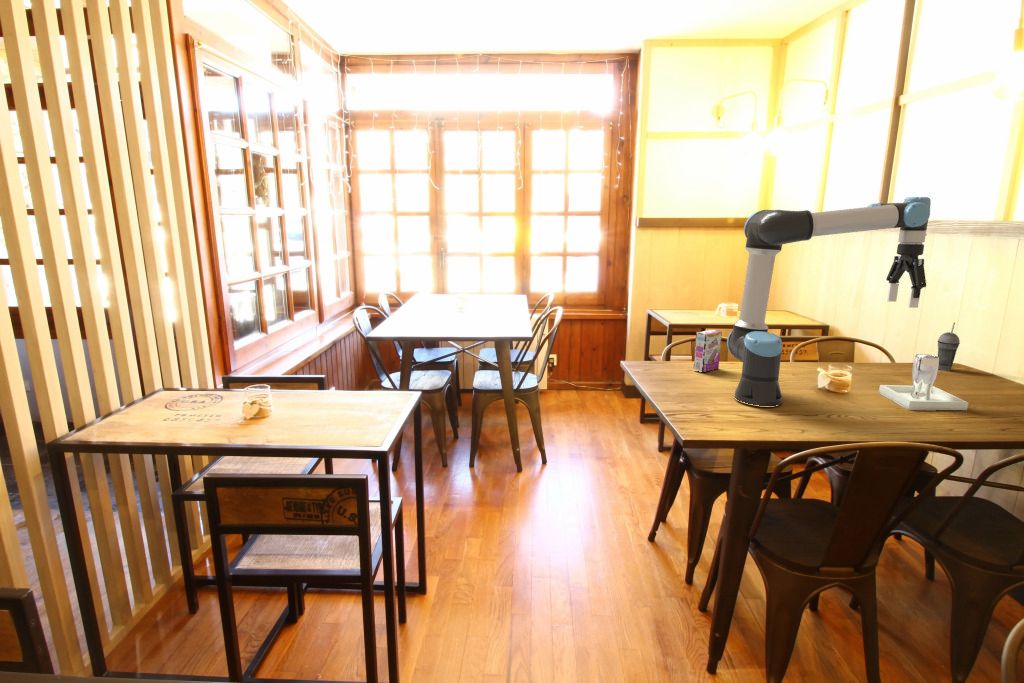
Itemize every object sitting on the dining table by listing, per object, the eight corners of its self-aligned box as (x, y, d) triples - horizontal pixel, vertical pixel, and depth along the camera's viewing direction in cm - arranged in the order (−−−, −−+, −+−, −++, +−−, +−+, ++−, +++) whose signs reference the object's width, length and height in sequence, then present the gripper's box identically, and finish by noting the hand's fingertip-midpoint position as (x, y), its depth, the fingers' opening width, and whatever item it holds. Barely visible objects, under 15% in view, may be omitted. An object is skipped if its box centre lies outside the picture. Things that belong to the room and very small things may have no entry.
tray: (908, 409, 184) (909, 401, 184) (878, 392, 202) (879, 384, 201) (966, 411, 183) (968, 402, 182) (931, 393, 200) (933, 385, 200)
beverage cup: (945, 367, 235) (953, 320, 230) (959, 371, 228) (968, 323, 223) (928, 367, 234) (936, 320, 230) (942, 372, 227) (950, 323, 223)
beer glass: (937, 400, 191) (944, 357, 187) (924, 402, 188) (931, 359, 185) (916, 394, 197) (923, 352, 194) (903, 396, 194) (909, 354, 191)
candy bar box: (703, 373, 228) (705, 334, 224) (692, 371, 232) (695, 332, 228) (719, 369, 234) (722, 330, 231) (709, 366, 238) (712, 328, 235)
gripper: (945, 245, 180) (935, 310, 185) (902, 241, 205) (894, 299, 209) (920, 245, 181) (910, 310, 186) (880, 241, 205) (872, 298, 210)
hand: (901, 304), depth 198 cm, fingers open, 13 cm apart
